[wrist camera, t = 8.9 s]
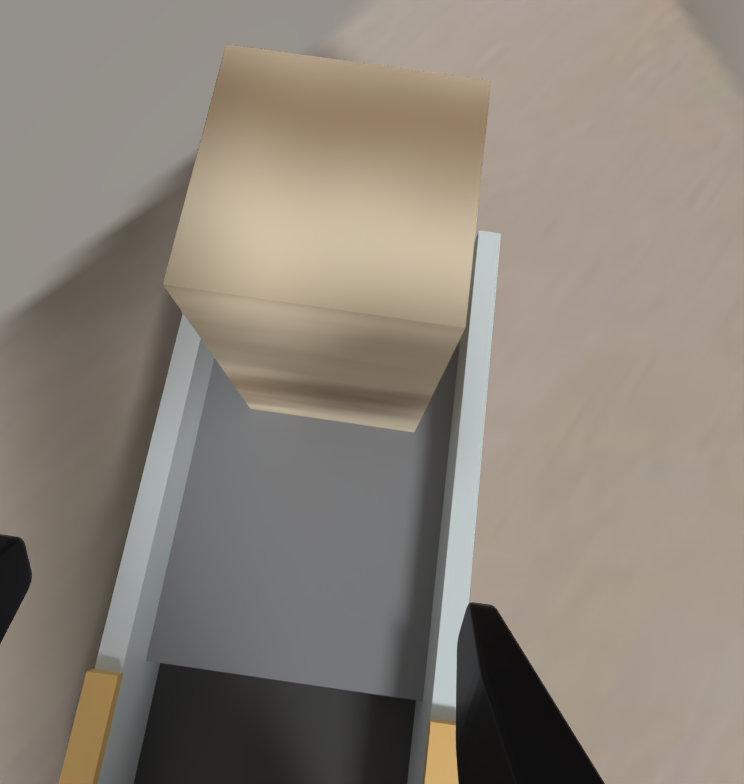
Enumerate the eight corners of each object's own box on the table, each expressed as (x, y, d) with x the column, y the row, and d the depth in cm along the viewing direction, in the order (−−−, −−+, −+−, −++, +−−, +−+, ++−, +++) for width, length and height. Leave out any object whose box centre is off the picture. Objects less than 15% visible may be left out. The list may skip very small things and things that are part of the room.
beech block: (414, 432, 21) (465, 327, 11) (250, 408, 21) (162, 284, 11) (432, 283, 23) (491, 80, 13) (280, 261, 23) (226, 44, 13)
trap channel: (413, 967, 18) (431, 1092, 14) (79, 917, 18) (-3, 1026, 14) (479, 283, 25) (505, 227, 21) (233, 249, 25) (208, 186, 21)
